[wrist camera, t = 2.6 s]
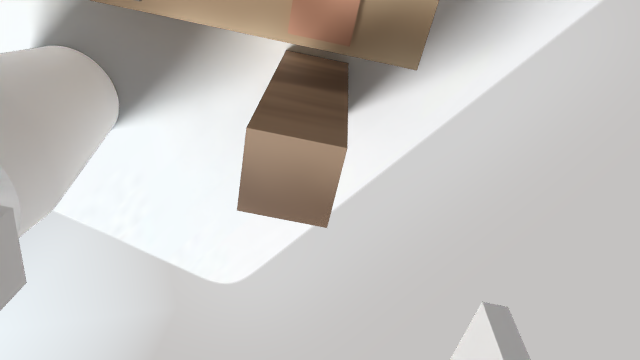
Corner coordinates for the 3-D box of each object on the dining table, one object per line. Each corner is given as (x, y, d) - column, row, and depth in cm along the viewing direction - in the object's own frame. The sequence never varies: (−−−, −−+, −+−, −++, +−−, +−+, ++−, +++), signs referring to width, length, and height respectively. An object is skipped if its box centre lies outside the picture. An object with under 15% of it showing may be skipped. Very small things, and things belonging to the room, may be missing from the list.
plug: (286, 50, 27) (246, 127, 17) (348, 63, 27) (347, 148, 17) (277, 108, 29) (237, 210, 19) (335, 120, 29) (326, 227, 19)
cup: (138, 45, 27) (10, 118, 17) (136, 165, 32) (35, 279, 22) (-7, 9, 27) (-230, 62, 16) (13, 136, 31) (-152, 240, 21)
